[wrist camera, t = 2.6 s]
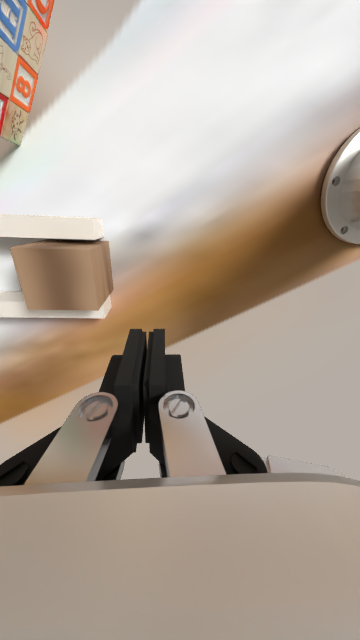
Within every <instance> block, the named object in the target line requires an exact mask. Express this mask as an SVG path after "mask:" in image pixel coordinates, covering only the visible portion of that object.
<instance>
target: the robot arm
mask: <svg viewBox="0 0 360 640" xmlns="http://www.w3.org/2000/svg"><path fill="white" fill-rule="evenodd" d="M321 211H322V216H323V219H324V222H325V224H326V226H327V228H328V229H329V230H330V232H331V233H332V234H333V235H334V236H336V237H337V238H338V239H340V240H343V241H345V242H348V243H354V244H360V128H359V129H358V130H357V131H356V132H354V133H353V134H352V135H351V136H350V137H349V138H348V140H347V141H346V142H345V143H344V144H343V145H342V147H341V148H340V149H339V151H338V152H337V154H336V156H335V157H334V159H333V160H332V163H331V165H330V167H329V169H328V171H327V173H326V177H325V180H324V183H323V187H322V194H321ZM144 419H145V439H146V443H149V444H150V453H151V454H152V455H153V456H154V457H155V458H156V459H157V460H158V461H159V469H160V477H161V478H148V479H128V480H120V479H121V475H122V472H123V469H124V462H125V461H124V460H125V459H126V458H127V457H129V456H130V455H131V454H132V453H133V452H136V446H137V443H141V442H142V434H143V424H144ZM0 640H360V481H358V480H354V479H350V478H346V477H345V476H344V475H343V474H342V473H340V472H339V471H337V470H335V469H333V468H330V467H327V466H323V465H318V464H312V463H307V462H302V461H297V460H291V459H286V458H281V457H275V456H269V455H268V457H267V458H262V457H260V456H259V455H258V454H257V453H256V452H255V451H254V450H252V449H251V448H249V447H248V446H246V445H245V444H243V443H242V442H241V441H239V440H238V439H236V438H235V437H233V436H232V435H230V434H229V433H228V432H226V431H225V430H223V429H222V428H220V427H219V426H217V425H216V424H214V423H213V422H211V421H210V420H209V419H207V418H206V417H204V415H203V412H202V410H201V408H200V405H199V402H198V400H197V399H196V398H195V397H194V396H193V395H192V394H190V393H188V392H185V388H184V380H183V372H182V364H181V356H180V355H165V329H154V332H149V339H148V347H147V341H146V332H142V329H130V332H129V335H128V339H127V342H126V346H125V349H124V352H123V355H113V356H112V357H111V360H110V362H109V365H108V368H107V371H106V373H105V376H104V379H103V382H102V385H101V387H100V390H99V392H98V393H94V394H90V395H88V396H86V397H84V398H83V399H82V400H80V401H79V402H78V403H77V405H76V406H75V407H74V409H73V410H72V412H71V414H70V415H69V416H68V418H67V419H66V421H65V423H64V424H63V426H61V427H60V428H58V429H57V430H55V431H53V432H52V433H50V434H48V435H47V436H45V437H44V438H42V439H40V440H39V441H37V442H36V443H34V444H32V445H31V446H29V447H27V448H26V449H24V450H23V451H21V452H19V453H18V454H16V455H15V456H13V457H11V458H10V459H8V460H6V461H5V462H4V463H2V464H1V465H0Z"/></svg>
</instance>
